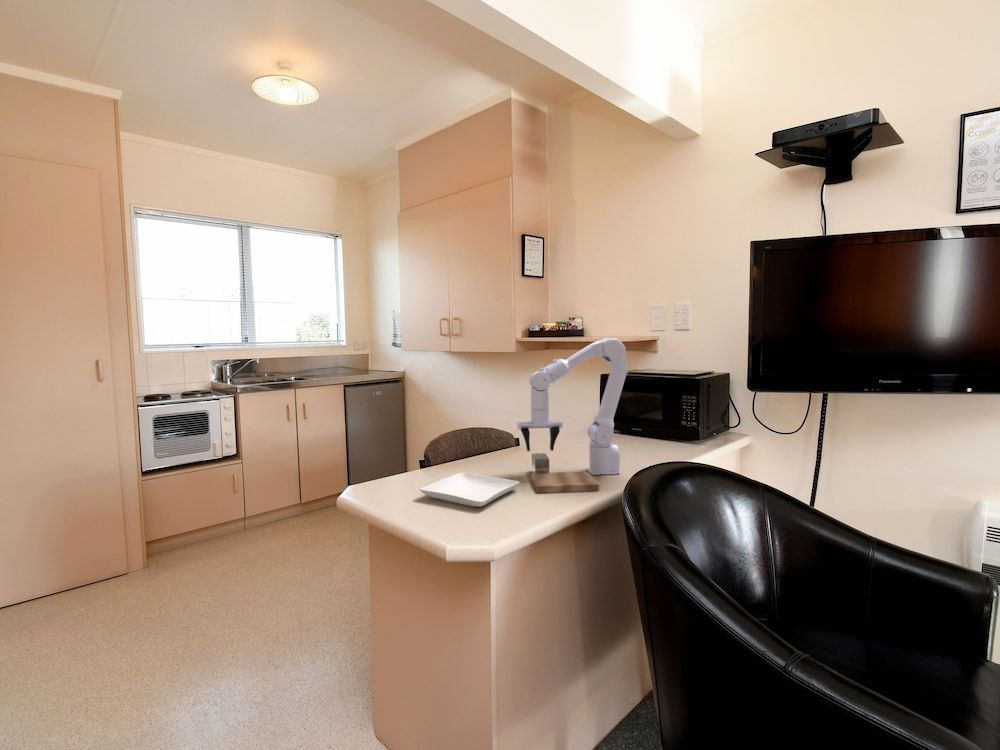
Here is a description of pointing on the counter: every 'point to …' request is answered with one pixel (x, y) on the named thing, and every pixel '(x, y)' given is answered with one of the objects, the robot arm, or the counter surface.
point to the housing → (540, 463)
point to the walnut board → (564, 482)
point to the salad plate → (469, 489)
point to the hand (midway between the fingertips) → (540, 450)
